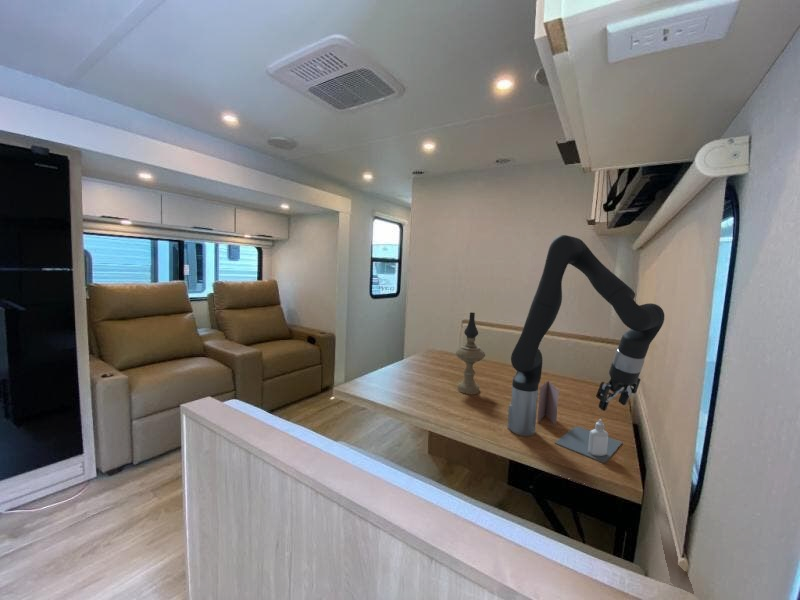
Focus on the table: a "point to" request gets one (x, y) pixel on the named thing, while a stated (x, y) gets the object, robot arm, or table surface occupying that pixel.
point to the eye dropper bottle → (598, 440)
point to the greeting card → (548, 402)
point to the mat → (586, 444)
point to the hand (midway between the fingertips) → (612, 406)
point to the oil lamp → (470, 358)
